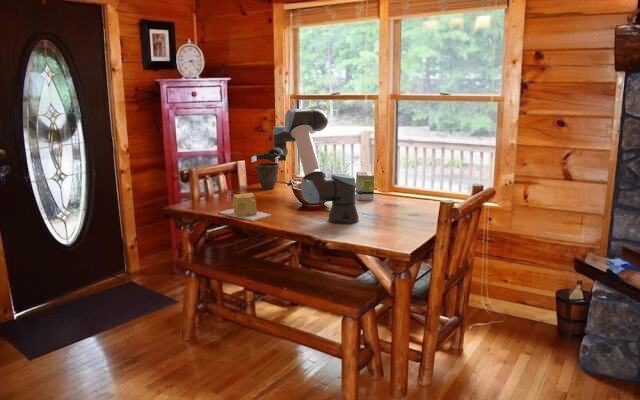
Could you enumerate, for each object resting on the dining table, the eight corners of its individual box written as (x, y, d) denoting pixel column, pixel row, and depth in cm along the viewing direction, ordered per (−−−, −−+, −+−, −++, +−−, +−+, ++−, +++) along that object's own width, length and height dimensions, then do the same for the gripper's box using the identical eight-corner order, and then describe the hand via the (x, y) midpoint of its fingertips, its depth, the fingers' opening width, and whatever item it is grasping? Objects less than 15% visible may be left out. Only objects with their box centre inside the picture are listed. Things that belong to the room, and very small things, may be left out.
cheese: (257, 215, 270) (256, 196, 267) (236, 217, 266) (235, 198, 264) (252, 210, 279) (252, 192, 277) (232, 212, 276) (232, 193, 273)
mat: (271, 215, 271) (271, 214, 271) (253, 221, 261) (253, 219, 261) (237, 208, 287) (237, 207, 286) (219, 213, 277) (219, 212, 276)
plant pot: (251, 189, 338) (250, 164, 334) (268, 185, 349) (267, 161, 346) (267, 192, 329) (266, 167, 325) (284, 188, 340) (283, 164, 336)
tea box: (374, 200, 305) (374, 175, 301) (357, 200, 305) (357, 175, 301) (372, 194, 319) (372, 170, 316) (355, 194, 319) (355, 171, 316)
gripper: (296, 161, 299) (286, 167, 279) (255, 160, 304) (242, 166, 284) (296, 148, 298) (285, 153, 277) (254, 148, 303) (241, 152, 283)
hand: (263, 160), depth 281 cm, fingers open, 13 cm apart
